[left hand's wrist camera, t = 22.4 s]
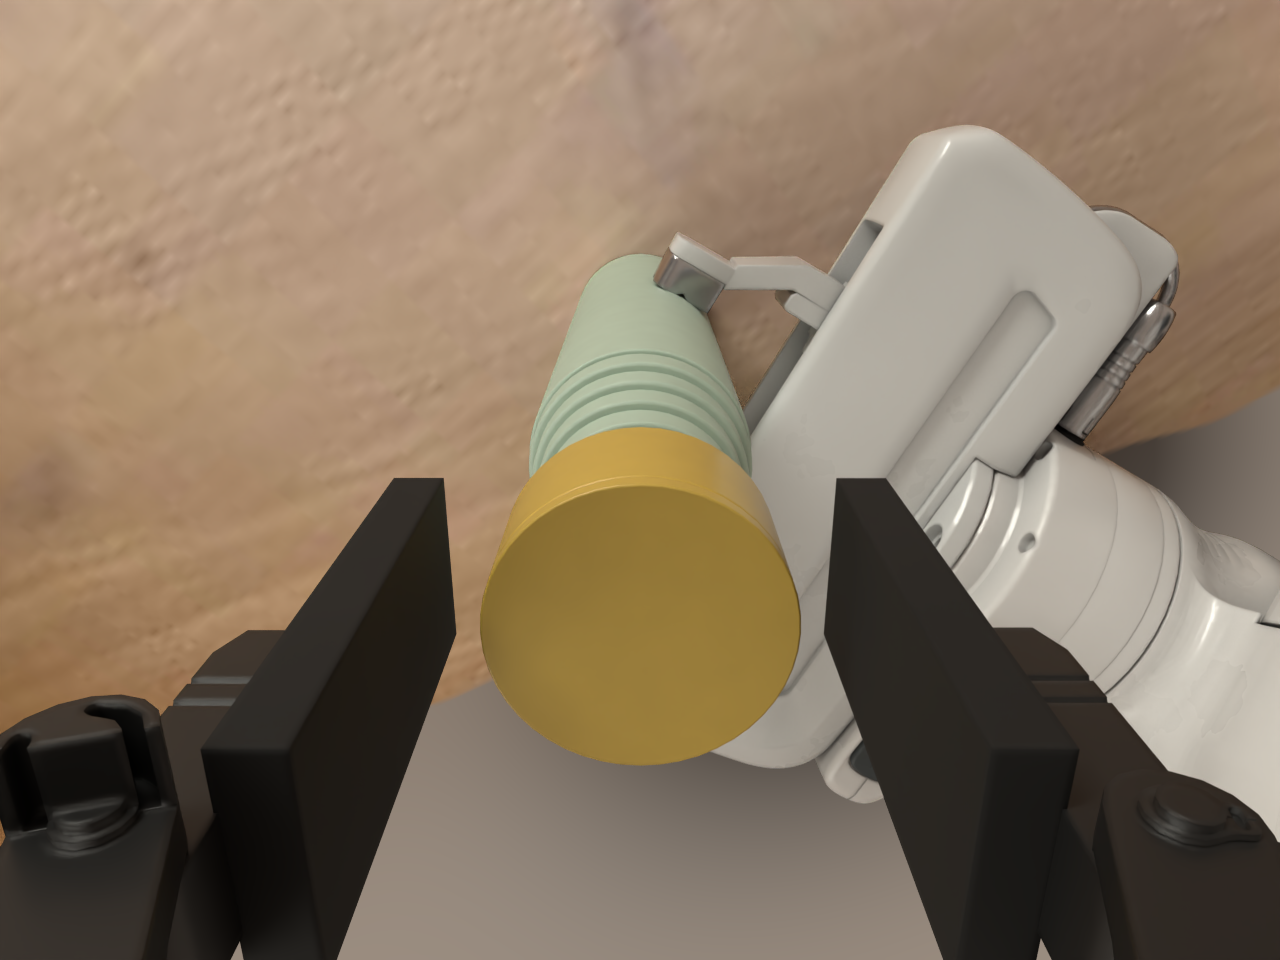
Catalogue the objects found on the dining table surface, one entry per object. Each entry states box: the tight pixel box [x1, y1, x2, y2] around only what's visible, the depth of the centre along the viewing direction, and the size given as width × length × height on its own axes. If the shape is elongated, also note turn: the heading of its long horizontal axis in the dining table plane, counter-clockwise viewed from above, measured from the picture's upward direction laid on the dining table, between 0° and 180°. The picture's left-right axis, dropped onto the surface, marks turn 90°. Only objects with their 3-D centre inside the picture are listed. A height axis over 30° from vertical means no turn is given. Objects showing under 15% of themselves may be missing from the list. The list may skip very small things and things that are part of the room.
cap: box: [480, 427, 801, 765], centre depth 13 cm, size 4×4×2 cm
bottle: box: [529, 254, 752, 478], centre depth 23 cm, size 5×5×22 cm
